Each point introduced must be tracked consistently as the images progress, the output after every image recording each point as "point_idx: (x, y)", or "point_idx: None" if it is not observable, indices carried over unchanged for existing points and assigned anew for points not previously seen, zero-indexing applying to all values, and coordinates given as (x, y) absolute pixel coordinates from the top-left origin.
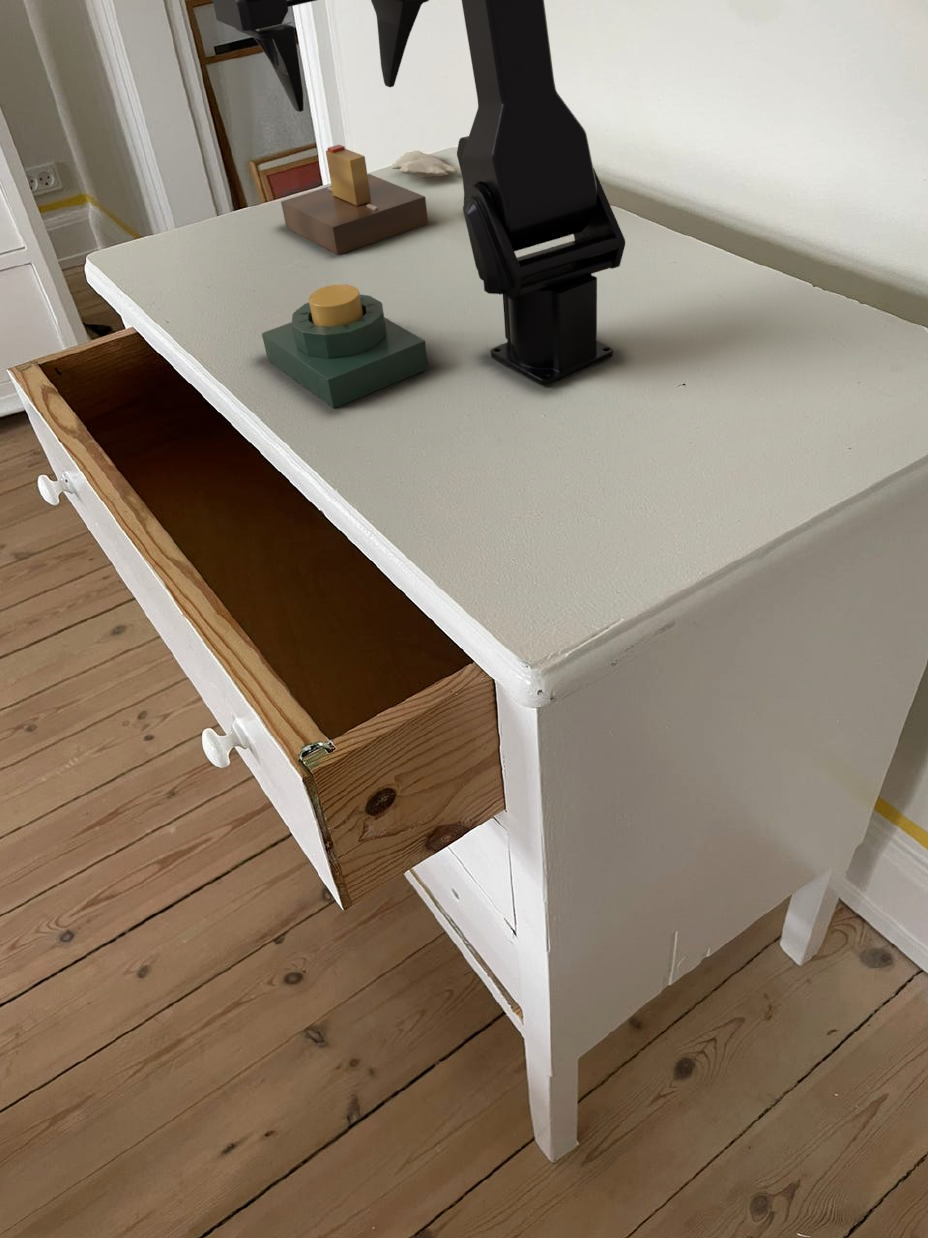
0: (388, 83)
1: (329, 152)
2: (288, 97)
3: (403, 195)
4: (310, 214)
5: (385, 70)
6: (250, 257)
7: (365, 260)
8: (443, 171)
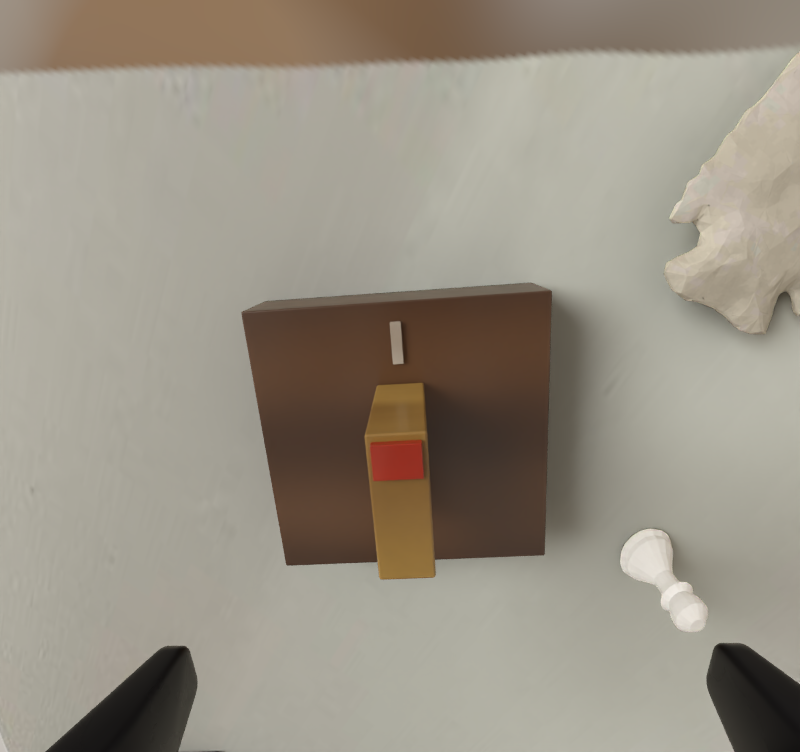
0: (715, 689)
1: (368, 460)
2: (111, 693)
3: (512, 513)
4: (273, 463)
5: (765, 745)
6: (140, 409)
7: (334, 579)
8: (756, 332)
